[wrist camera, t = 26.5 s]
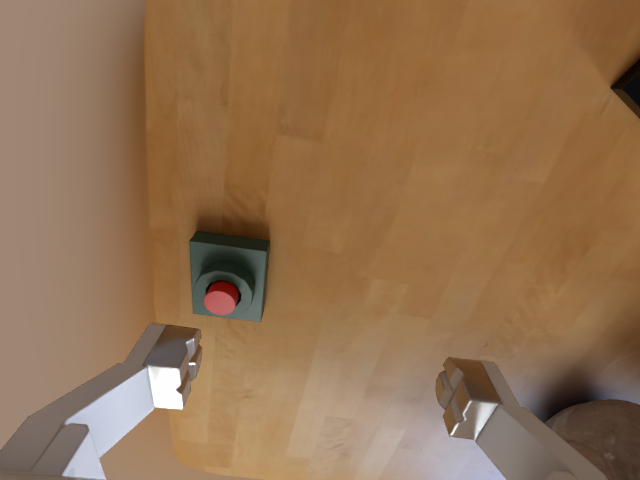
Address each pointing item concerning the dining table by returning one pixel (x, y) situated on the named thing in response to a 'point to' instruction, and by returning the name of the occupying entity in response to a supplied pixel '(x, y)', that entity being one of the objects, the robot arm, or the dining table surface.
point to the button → (221, 298)
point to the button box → (230, 272)
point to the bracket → (630, 88)
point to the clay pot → (603, 435)
